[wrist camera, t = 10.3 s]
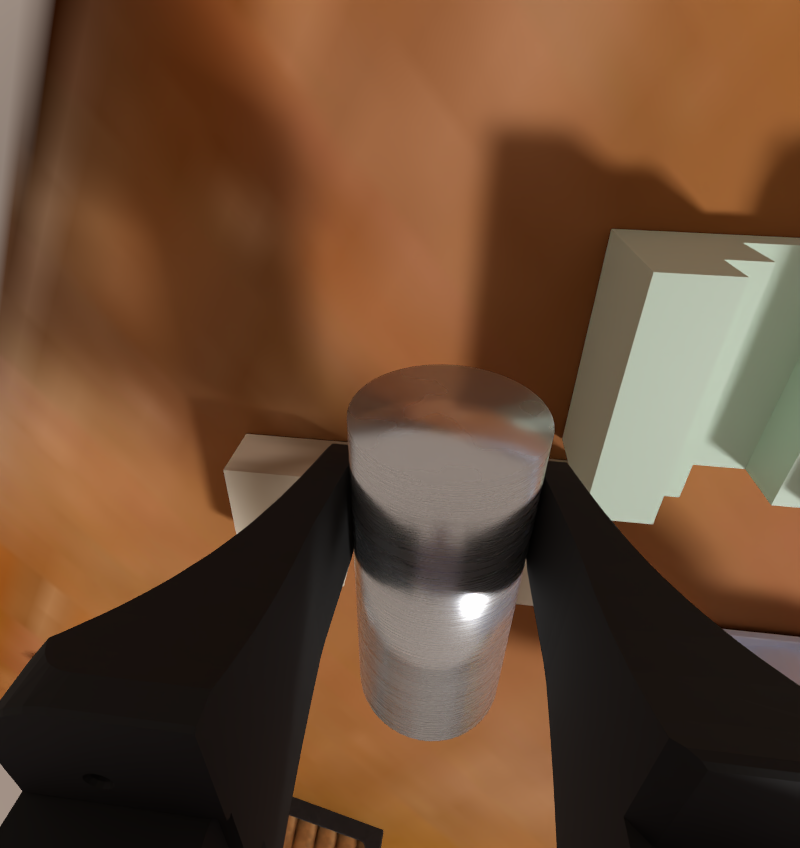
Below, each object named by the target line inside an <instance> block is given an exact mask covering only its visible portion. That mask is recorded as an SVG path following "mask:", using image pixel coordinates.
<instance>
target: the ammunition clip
mask: <svg viewBox="0 0 800 848" xmlns="http://www.w3.org/2000/svg"><path fill="white" fill-rule="evenodd" d="M382 837H383V830H382V829H379V828H376V827H373V826H371V825H368V824H365V823H363V822H360V821H357V820H354V819H352V818H349V817H346V816H343V815H341V814H338V813H335V812H333V811H330V810H327V809H324V808H322V807H319V806H316V805H313V804H311V803H308V802H305V801H303V800H300V799H297V798H294V797H292V801H291V807H290V812H289V818H288V824H287V829H286V835H285V840H284V846H283V848H381V844H382Z"/></svg>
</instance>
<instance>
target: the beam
mask: <svg viewBox="0 0 800 848" xmlns="http://www.w3.org/2000/svg"><path fill="white" fill-rule="evenodd" d="M333 443H334V444H346V445H348V442H339V441H327V440H315V439H303V438H291V437H279V436H267V435H255V434H246V435H245V437H244V438H243V440H242V441H241V443H240V444H239V446H238V448H237V449H236V451H235V452H234V454H233V455H232V457H231V459H230V460H229V462H228V463H227V465H226V467H225V468H224V470H223V471H224V476H225V481H226V486H227V490H228V495H229V500H230V505H231V510H232V515H233V520H234V525H235V530H236V535H237V534H238V533H239V532H240V531H242V530H243V529H244V528H245V527H247V526H248V525H249V524H250V523H251V522H253V521H254V520H255V519H256V518H257V517H258V516H259V515H261V514H262V513H263V512H264V511H265V510H266V509H267V508H269V507H270V506H271V505H272V504H273V503H274V502H275V501H276V500H277V499H278V498H280V497H281V496H282V495H283V494H284V493H285V492H286V491H287V490H288V489H289V488H290V487H291V486H292V485H293V484H294V483H295V482H296V481H297V480H298V479H299V478H300V477H301V476H302V475H303V474H304V473H305V472H306V471H307V469H308V468H309V467H310V466H311V465H312V464H313V463H314V462H315V461H316V460H317V459H318V458H319V456H320V455H321V454H322V453H323V452H324V451H325V450H326V449H327V448H328V447H329V446H330V445H331V444H333ZM548 461H556V462H567V463H568V460H557V459H548ZM568 465H569V463H568ZM348 568H349V567H348ZM347 572H348V570H347ZM346 576H347V574H346ZM345 580H346V577H345ZM345 580H344V583H343V586H344V584H345ZM516 604H520V605H529V606H533V601H532V595H531V590H530V584H529V578H528V572H527V562H526V561H525V565H524V570H523V574H522V579H521V583H520V588H519V592H518V597H517V601H516Z"/></svg>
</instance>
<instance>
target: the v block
mask: <svg viewBox="0 0 800 848" xmlns="http://www.w3.org/2000/svg"><path fill="white" fill-rule="evenodd" d="M562 441H563V444H564V448H565V452H566V456H567V460H568V463H569V466H570V467H571V468H572V470H573V471H574V472H575V474H576V475H577V476H578V478H579V479H580V480H581V482H582V483H583V485H584V486H585V487H586V489H587V490H588V491H589V493H590V494H591V495H592V497H593V498H594V499H595V501H596V502H597V503H598V504H599V506H600V507H601V508H602V510H603V511H604V512H605V513H606V515H607V516H608V517H609V518H610V519H611V521H622V522H633V523H644V524H653V523H654V520H655V518H656V515H657V512H658V510H659V507H660V505H661V502H662V500H663V497H664V496H671V497H680V494H681V492H682V489H683V487H684V484H685V482H686V480H687V477H688V475H689V472H690V470H691V467H692V465H703V466H716V467H728V468H740V469H746V471H747V472H748V473H749V475H750V476H751V478H752V479H753V480H754V482H755V483H756V485H757V486H758V487H759V489H760V490H761V492H762V493H763V494H764V496H765V497H766V499H767V500H768V501H769V503H770V504H771V505H775V506H786V507H798V508H800V238H792V237H772V236H751V235H730V234H710V233H689V232H668V231H648V230H627V229H611V232H610V237H609V241H608V245H607V250H606V254H605V258H604V262H603V267H602V271H601V275H600V280H599V284H598V288H597V292H596V297H595V301H594V305H593V309H592V314H591V318H590V322H589V327H588V331H587V335H586V339H585V344H584V348H583V352H582V357H581V361H580V365H579V369H578V374H577V378H576V382H575V387H574V391H573V395H572V399H571V404H570V408H569V412H568V417H567V421H566V425H565V429H564V434H563V438H562Z"/></svg>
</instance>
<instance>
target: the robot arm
mask: <svg viewBox="0 0 800 848" xmlns="http://www.w3.org/2000/svg"><path fill="white" fill-rule="evenodd" d="M353 551H354V540H353V522H352V503H351V484H350V465H349V450H348V445H346V444H334V443H333V444H331V445H330V446H329V447H328V448H327V449H326V450H325V451H324V452H323V453H322V454H321V455H320V456H319V458H318V459H317V460H316V461H315V462H314V463H313V464H312V465H311V466H310V467H309V468H308V469H307V471H306V472H305V473H304V474H303V475H302V476H301V477H300V478H299V479H298V480H297V481H296V482H295V483H294V484H293V485H292V486H291V487H290V488H289V489H288V490H287V491H286V492H285V493H284V494H283V495H282V496H281V497H280V498H278V499H277V500H276V501H275V502H274V503H273V504H272V505H271V506H270V507H269V508H267V509H266V510H265V511H264V512H263V513H262V514H261V515H259V516H258V517H257V518H256V519H255V520H254V521H253V522H251V523H250V524H249V525H248V526H247V527H245V528H244V529H243V530H242V531H240V532H239V533H238V534H237V535H235V536H234V537H233V538H231V539H230V540H229V541H227V542H226V543H225V544H223V545H222V546H220V547H219V548H218V549H216V550H215V551H214V552H212V553H211V554H209V555H208V556H206V557H204V558H203V559H201V560H200V561H198V562H197V563H195V564H193V565H192V566H190V567H189V568H187V569H185V570H184V571H182V572H181V573H179V574H177V575H176V576H174V577H173V578H171V579H169V580H167V581H166V582H164V583H162V584H160V585H159V586H157V587H155V588H153V589H151V590H150V591H148V592H146V593H144V594H142V595H140V596H138V597H136V598H134V599H132V600H130V601H129V602H127V603H125V604H123V605H121V606H119V607H117V608H115V609H112V610H110V611H108V612H106V613H104V614H102V615H100V616H97V617H95V618H93V619H91V620H88V621H86V622H84V623H82V624H80V625H77V626H75V627H73V628H71V629H68V630H66V631H64V632H62V633H59V634H57V635H54V636H52V637H50V638H48V639H47V641H46V642H45V643H44V644H43V645H42V647H41V648H40V649H39V650H38V651H37V653H36V654H35V655H34V656H33V657H32V659H31V660H30V661H29V662H28V664H27V665H26V666H25V668H24V669H23V670H22V672H21V673H20V674H19V676H18V677H17V678H16V680H15V681H14V682H13V684H12V685H11V686H10V688H9V689H8V690H7V692H6V693H5V694H4V696H3V697H2V698H1V700H0V764H1V765H2V766H3V768H4V769H5V770H6V771H7V772H8V774H9V775H10V776H11V777H12V779H13V780H14V781H15V782H16V784H17V785H18V786H19V787H20V789H21V790H22V793H21V795H20V796H19V798H18V800H17V801H16V803H15V804H14V806H13V807H12V809H11V811H10V812H9V814H8V815H7V817H6V818H5V820H4V821H3V823H2V825H1V826H0V848H283V846H284V840H285V835H286V829H287V824H288V818H289V812H290V807H291V801H292V796H293V791H294V785H295V780H296V775H297V770H298V765H299V759H300V754H301V749H302V744H303V739H304V734H305V729H306V724H307V719H308V714H309V709H310V705H311V700H312V695H313V690H314V686H315V681H316V676H317V672H318V667H319V663H320V658H321V654H322V650H323V647H324V643H325V639H326V636H327V633H328V630H329V627H330V624H331V620H332V617H333V614H334V611H335V608H336V605H337V602H338V599H339V596H340V592H341V589H342V586H343V583H344V580H345V577H346V574H347V570H348V567H349V564H350V561H351V558H352V554H353ZM526 562H527V572H528V578H529V584H530V590H531V595H532V601H533V607H534V612H535V618H536V623H537V629H538V634H539V640H540V645H541V651H542V656H543V662H544V669H545V677H546V685H547V697H548V710H549V723H550V736H551V751H552V767H553V782H554V801H555V820H556V840H557V848H800V637H796V636H787V635H777V634H768V633H758V632H749V631H739V630H730V629H722V628H721V627H719V626H718V625H717V624H716V623H714V622H713V621H712V620H711V619H709V618H708V617H707V616H706V615H704V614H703V613H702V612H701V611H700V610H699V609H697V608H696V607H695V606H694V605H693V604H692V603H690V602H689V601H688V600H687V599H686V598H685V597H684V596H683V595H682V594H681V593H680V592H678V591H677V590H676V589H675V588H674V587H673V586H672V585H671V584H670V583H669V582H668V581H667V580H666V579H664V578H663V577H662V576H661V575H660V574H659V573H658V572H657V571H656V570H655V569H654V568H653V567H652V566H651V565H650V564H649V563H648V562H647V561H646V560H645V558H644V557H643V556H642V555H641V554H640V553H639V552H638V551H637V550H636V549H635V548H634V547H633V546H632V544H631V543H630V542H629V541H628V540H627V539H626V537H625V536H624V535H623V534H622V533H621V532H620V530H619V529H618V528H617V527H616V526H615V524H614V523H613V522H612V521H611V519H610V518H609V517H608V516H607V515H606V513H605V512H604V511H603V510H602V508H601V507H600V506H599V504H598V503H597V502H596V501H595V499H594V498H593V497H592V495H591V494H590V493H589V491H588V490H587V489H586V487H585V486H584V485H583V483H582V482H581V480H580V479H579V478H578V476H577V475H576V474H575V472H574V471H573V470H572V468H571V467H570V466H569V465H568V463H567V462H556V461H548V463H547V468H546V472H545V477H544V481H543V486H542V490H541V494H540V499H539V503H538V508H537V512H536V517H535V521H534V526H533V530H532V534H531V539H530V543H529V548H528V552H527V557H526Z"/></svg>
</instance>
